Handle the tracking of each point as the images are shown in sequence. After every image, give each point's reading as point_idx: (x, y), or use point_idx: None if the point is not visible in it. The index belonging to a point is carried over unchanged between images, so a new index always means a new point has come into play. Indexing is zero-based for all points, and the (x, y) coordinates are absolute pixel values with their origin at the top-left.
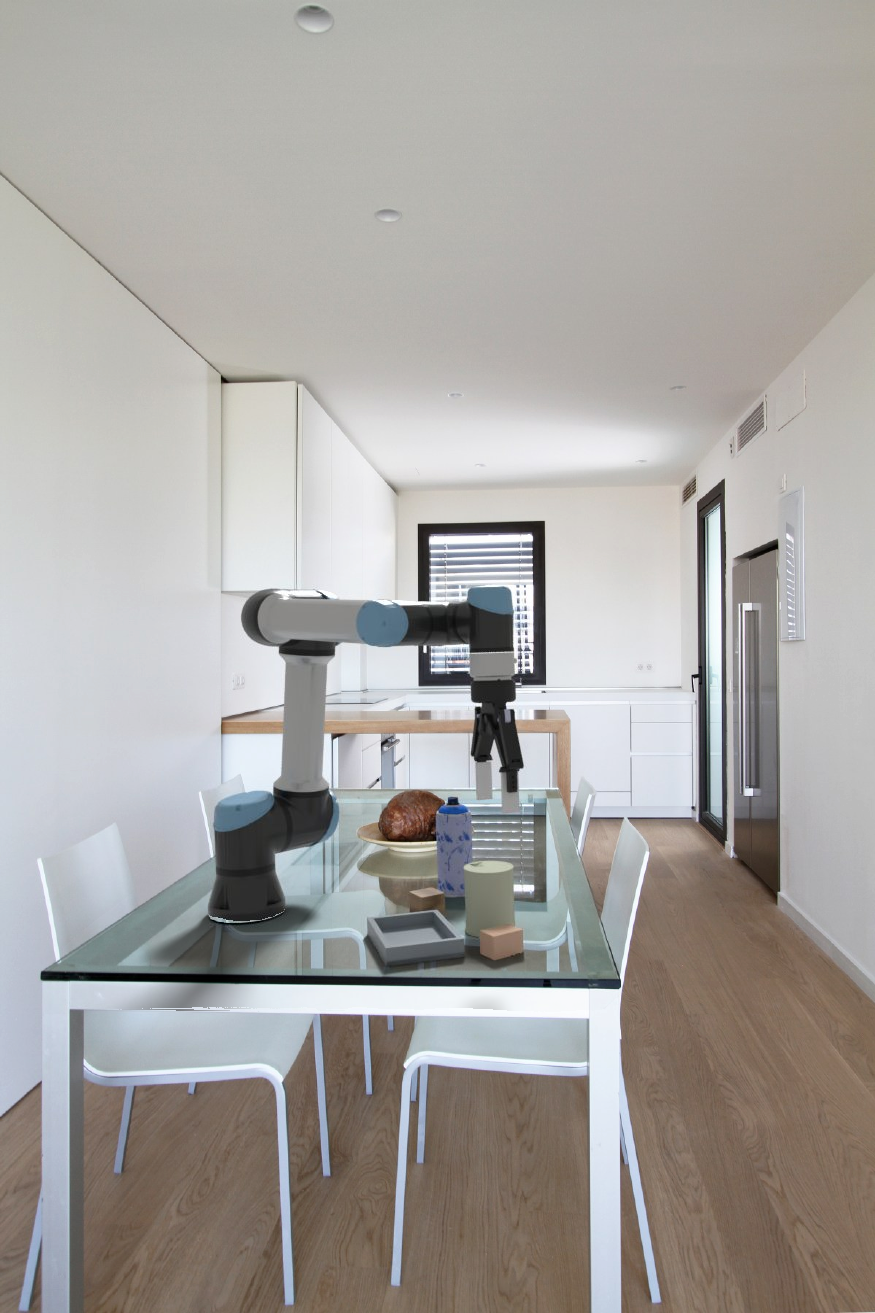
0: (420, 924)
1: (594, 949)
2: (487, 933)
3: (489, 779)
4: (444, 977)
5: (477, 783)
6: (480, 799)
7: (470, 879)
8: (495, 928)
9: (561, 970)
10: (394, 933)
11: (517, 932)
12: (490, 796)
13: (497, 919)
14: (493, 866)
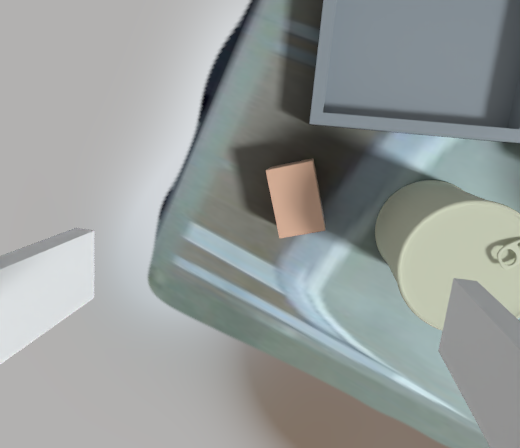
0: (514, 97)
1: (246, 335)
2: (287, 167)
3: (475, 400)
4: (234, 54)
5: (488, 316)
6: (452, 292)
7: (445, 201)
8: (309, 194)
9: (186, 243)
10: (491, 23)
11: (277, 225)
12: (443, 347)
13: (382, 231)
14: None
